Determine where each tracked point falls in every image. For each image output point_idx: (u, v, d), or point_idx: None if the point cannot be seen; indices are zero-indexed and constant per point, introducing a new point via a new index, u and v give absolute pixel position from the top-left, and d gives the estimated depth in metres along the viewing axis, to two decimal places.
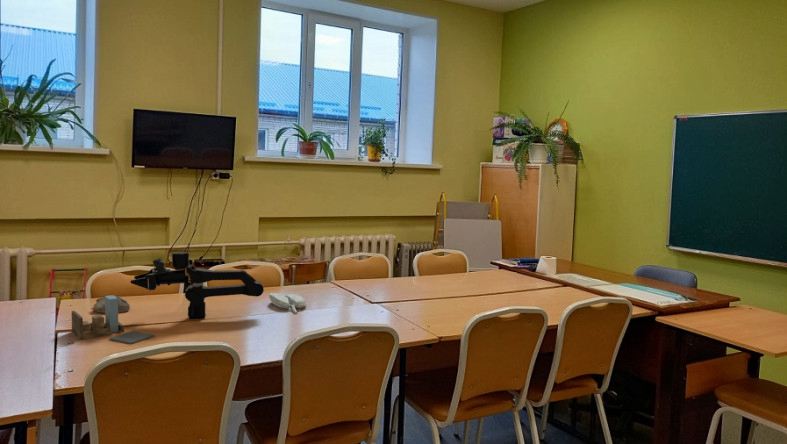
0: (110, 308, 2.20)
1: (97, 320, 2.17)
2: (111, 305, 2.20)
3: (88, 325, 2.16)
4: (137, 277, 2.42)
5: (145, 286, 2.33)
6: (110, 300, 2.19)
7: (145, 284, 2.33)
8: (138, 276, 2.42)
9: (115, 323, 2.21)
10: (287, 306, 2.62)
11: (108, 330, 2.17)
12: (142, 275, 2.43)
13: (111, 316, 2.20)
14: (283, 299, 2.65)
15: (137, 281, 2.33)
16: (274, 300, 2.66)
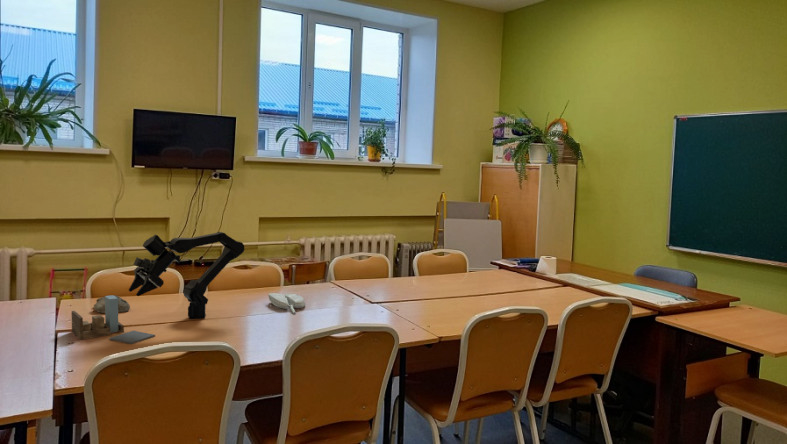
0: (110, 308, 2.20)
1: (97, 320, 2.17)
2: (111, 305, 2.20)
3: (88, 325, 2.16)
4: (131, 288, 2.31)
5: (152, 287, 2.26)
6: (110, 300, 2.19)
7: (151, 286, 2.26)
8: (131, 287, 2.31)
9: (115, 323, 2.21)
10: (286, 306, 2.62)
11: (108, 330, 2.17)
12: (134, 283, 2.32)
13: (111, 316, 2.20)
14: (282, 299, 2.65)
15: (142, 290, 2.24)
16: (273, 300, 2.66)
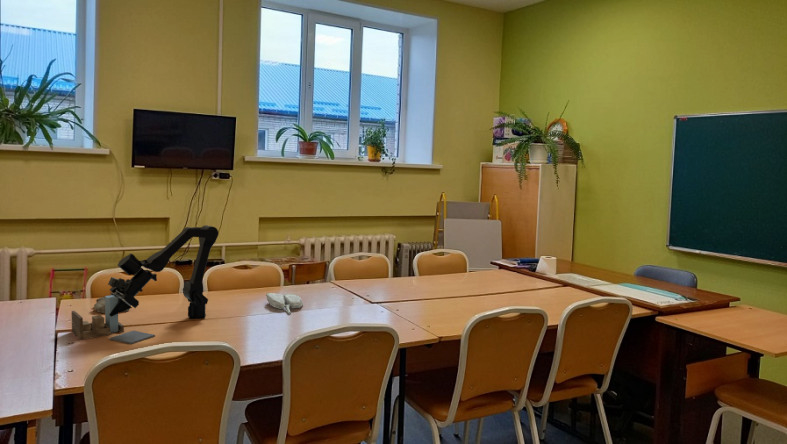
0: (110, 308, 2.20)
1: (97, 320, 2.17)
2: (111, 305, 2.20)
3: (88, 325, 2.16)
4: None
5: (126, 307, 2.22)
6: (110, 300, 2.19)
7: (124, 306, 2.21)
8: None
9: (115, 323, 2.21)
10: (281, 306, 2.61)
11: (108, 330, 2.17)
12: None
13: None
14: (278, 299, 2.64)
15: (116, 310, 2.20)
16: (270, 300, 2.66)
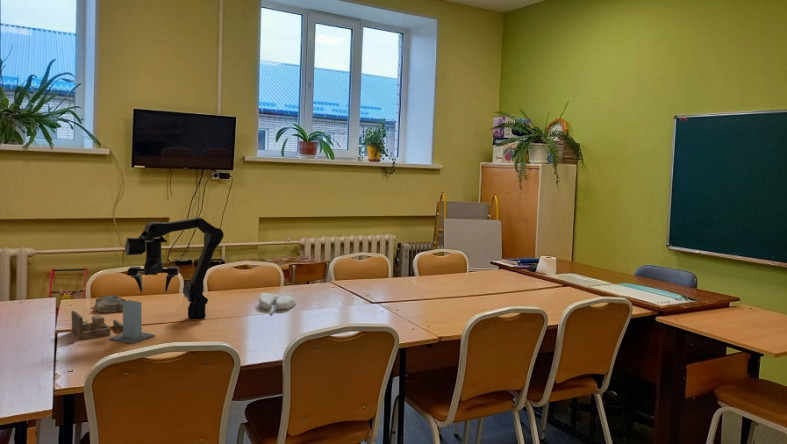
0: (135, 313, 2.12)
1: (97, 320, 2.17)
2: (136, 310, 2.12)
3: (88, 325, 2.16)
4: (142, 289, 2.32)
5: None
6: (135, 305, 2.12)
7: None
8: (141, 288, 2.32)
9: (139, 328, 2.14)
10: (267, 307, 2.60)
11: (108, 330, 2.17)
12: (141, 284, 2.31)
13: (136, 321, 2.12)
14: (266, 299, 2.63)
15: (168, 285, 2.34)
16: (259, 300, 2.66)
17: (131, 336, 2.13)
